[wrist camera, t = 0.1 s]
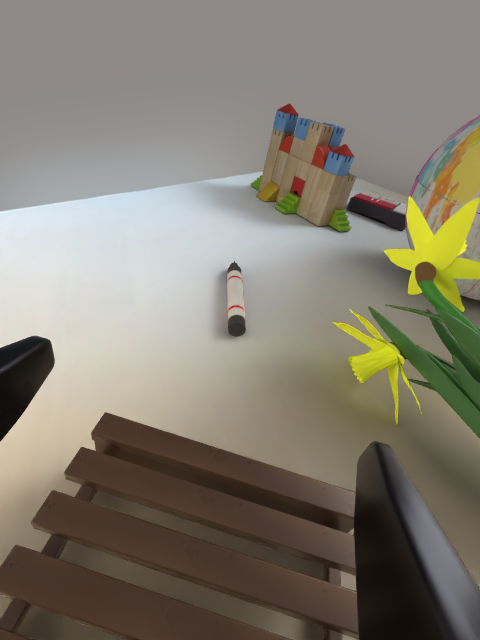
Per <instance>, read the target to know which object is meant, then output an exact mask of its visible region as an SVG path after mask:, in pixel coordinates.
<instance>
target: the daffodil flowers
mask: <svg viewBox="0 0 480 640" xmlns="http://www.w3.org/2000/svg"><path fill="white" fill-rule="evenodd" d="M478 204H479V198H476V199H473V200H472V201H470V202H469V203H467V204H466V205H464V206H463V207H462V208H461V209H460V210H459V211H457V212H456V213H455V214H454V215H453V216H452V217H450V218H449V219H448V220H447V221H446V222H445V223H444V224H443V225H442V226H441V228H440V229H439V230H438V231H437V233H436V234H435V235H433V233H432V231H431V229H430V227H429V226H428V224H427V222H426V220H425V218H424V216H423V215H422V213H421V211H420V209H419V208H418V206H417V205H416V203H415V201H414V200H413V199H412V197H411V196H409V199H408V208H407V214H406V216H407V225H408V230H409V233H410V235H411V238H412V241H413V244H414V248H415V251H413V250H411V249H388V250H384V253H385V254H386V255H387V256H388V257H389V259H390V260H391V262H393V263H394V264H396V265H397V266H399V267H402V268H404V269H407V270H410V271H412V272H411V275H410V278H409V284H408V294H410V295H417V294H420V293H422V292H423V294H424V295H425V297H426V298H427V299H428V300H429V301H430V303H431V304H432V305H433V306H434V307H435V308H436V311H437V313H438V315H436V314H433V313H432V312H431V311H430V310H428V309H427V312H424V311H420V310H416V309H412V308H405V307H398V306H391V305H386V306H390V307H393V308H397V309H402V310H406V311H411V312H414V313H418V314H421V315H424V316H427V317H430V320H431V322H432V324H433V326H434V328H435V330H436V332H437V333H438V335H439V337H440V338H441V340H442V342H443V343H444V345H445V346H446V347H447V349H448V350H449V352H450V353H451V354H452V359H453V363H454V365H453V364H451V363H450V362H448V361H446V360H444V359H442V358H440V357H438V356H436V355H434V354H432V353H430V352H428V351H426V350H424V349H423V348H421V347H419V346H418V345H416V344H415V343H413V342H412V341H411V340H410V339H409V338H408V337H407V336H406V335H405V334H404V333H403V332H401V331H400V330H399V329H398V328H397V327H396V326H395V325H393V324H392V323H391V322H390V321H389V320H387V319H386V318H385V317H384V316H382V315H381V314H380V313H379V312H377V311H376V310H374V309H373V308H371V307H368V308H369V310H370V312H371V314H372V315H373V317H374V318H375V320H376V321H377V322H378V324H379V325H380V326H381V328H382V329H383V330H384V332H385V333H386V334H387V335H388V336H389V338H390V339H391V340H392V341H393V343H392V342H387V341H386V340H385V339H383V338H382V336H381V335H380V334H379V332H378V331H377V329H376V328H375V327H374V326H373V325H372V324H371V323H370V322H369V321H368V320H367V319H365V318H363V317H361V316H359V315H357V314H356V313H354V312H353V311H352V310H351V309H350V310H351V312H352V313H353V314H354V315H355V316H356V317H357V318H358V319H359V321H360V322H361V323H362V324H363V325H364V326H365V327H366V329H367V330H368V331H369V332H370V333H371V334H372V335H373V336H375V337H376V338H377V339H379V340H380V341H379V340H376V339H374V338H371V337H368V336H367V335H365V334H364V333H362V332H361V331H359V330H357V329H356V328H354V327H352V326H350V325H347V324H345V323H335V322H332V323H333V324H335V325H336V326H337V327H339V328H340V329H342V330H343V331H345V332H346V333H348V334H350V335H351V336H353V337H355V338H356V339H358V340H359V341H361V342H362V343H364V344H365V345H367V346H368V347H370V348H372V349H371V350H370V351H369V353H367V354H363V355H358V356H353V357H349V358H348V359H349V360H348V361H349V362H351V363H350V364H349V365H350V366H353V367H352V369H351V370H353V371H355V373H354V375H356V376H357V380H360V381H359V383H360V382H362V383H363V382H365V381H366V380H367V379H369V378H370V377H371V376H373V375H374V374H376V373H377V372H379V371H381V370H382V369H384V368H388V377H389V380H390V384H391V388H392V391H393V395H394V400H395V405H396V409H395V420H396V424H397V423H398V363H399V367H400V371H401V374H402V377H403V379H404V381H405V383H406V384H407V385H408V387H409V388H410V389H411V391H412V392H413V394H414V397H415V399H416V401H417V404H418V406H419V409H420V403H419V401H418V399H417V397H416V395H415V393H414V391H413V389H412V387H411V385H410V383H409V381H411V382H414V383H416V384H419V385H422V386H424V387H427V388H429V389H432V390H435V391H436V392H438V393H439V394H440V395H441V396H442V397H443V399H444V400H445V401H446V402H447V403H448V404H449V405H450V406H451V407H452V408H453V409H454V411H455V412H456V413H457V414H458V415H459V416H460V417H461V418H462V419H463V421H464V422H465V423H466V424H467V425H468V426H469V427H470V428H471V429H472V430H473V432H474V433H475V434H476V435H477V436H478V437H479V438H480V330H479V329H478V328H477V327H476V326H475V325H473V324H472V323H471V322H470V321H469V320H468V319H467V318H466V317H465V316H464V315H463V314H462V313H461V312H464V311H465V308H464V307H463V305H462V301H461V297H460V294H459V291H458V288H457V285H456V283H455V281H454V280H453V278H459V279H480V263H479V262H476V261H472V260H469V259H464V258H456V257H457V256H459V255H460V254H462V253H463V252H464V251H465V250H467V249H465V248H466V247H467V246H468V245H466V241H467V240H465V239H466V237H467V235H468V233H469V230H470V228H471V225H472V223H473V220H474V217H475V214H476V211H477V207H478ZM456 307H457V308H458V309H459V310H460V311H461V312H460V311H459V310H458V309H457V308H456ZM440 321H441V322H443V323H445V324H446V326H447V328H448V329H449V331H450V332H451V334H452V335H453V336H452V335H451V334H450V333H449V332H448V330H447V329H446V328H445V327H444V326H443V324H442V323H441V322H440ZM454 338H455V339H456V340H455V339H454ZM404 359H408V360H409V361H410V363H411V364H412V365H413V366H414V367H415V368H416V369H417V370H418V371H419V372H420V374H421V375H422V376H423V377H424V378H425V379H426V380H427V381H428V382H429V383H427V382H422V381H418V380H413V379H407V377H406V375H405V372H404V369H403V364H404V362H405V360H404ZM362 383H361V384H362ZM420 411H421V410H420ZM421 414H422V412H421Z"/></svg>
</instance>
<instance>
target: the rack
mask: <svg viewBox="0 0 480 640" xmlns="http://www.w3.org/2000/svg"><path fill="white" fill-rule="evenodd" d="M91 435H92V440H94V441H95V449H96V451H93V450H90V449H87V448H84V447H81V448H80V450H79V451H78V453H77V454H76V456H75V457H74V459H73V460H72V462H71V463H70V464H69V466H68V467H67V469H66V470H65V472H64V474H65V478H66V479H67V480H70V481H73V482H76V483H79V484H82V486H81V488H80V490H79V491H78V493H77V495H76V496H75V497H72V496H69V495H66V494H63V493H60V492H57V491H54V490H53V491H52V492H51V493H50V495H49V496H48V497H47V499H46V500H45V502H44V503H43V505H42V506H41V508H40V509H39V511H38V512H37V514H36V515H35V517H34V518H33V520H32V521H31V524H32V526H33V528H34V529H37V530H40V531H43V532H46V533H49V534H52V535H51V537H50V539H49V540H48V542H47V544H46V545H45V547H44V549H43V550H42V552H41V553H40V552H37V551H34V550H31V549H28V548H25V547H22V546H19V545H15V546H14V547H13V549H12V550H11V552H10V553H9V555H8V556H7V558H6V559H5V561H4V562H3V564H2V565H1V567H0V595H2V596H5V597H7V598H10V599H12V601H11V603H10V604H9V606H8V608H7V609H6V611H5V612H4V614H3V616H2V617H1V619H0V640H34V639H31V638H28V637H25V636H23V635H20V634H17V633H16V632H17V630H18V629H19V627H20V625H21V623H22V621H23V620H24V618H25V616H26V614H27V613H28V611H29V609H30V607H31V606H33V607H36V608H38V609H41V610H44V611H47V612H50V613H53V614H55V615H58V616H61V617H64V618H67V619H70V620H72V621H75V622H78V623H81V624H84V625H86V626H89V627H92V628H95V629H98V630H101V631H103V632H106V633H109V634H112V635H115V636H118V637H120V638H123V639H126V640H292V639H289V638H286V637H283V636H280V635H277V634H274V633H271V632H268V631H266V630H263V629H260V628H257V627H254V626H251V625H248V624H245V623H242V622H239V621H237V620H234V619H231V618H228V617H225V616H222V615H219V614H216V613H213V612H211V611H208V610H205V609H202V608H199V607H196V606H193V605H190V604H187V603H184V602H182V601H179V600H176V599H173V598H170V597H167V596H164V595H161V594H158V593H156V592H153V591H150V590H147V589H144V588H141V587H138V586H135V585H132V584H129V583H127V582H124V581H121V580H118V579H115V578H112V577H109V576H106V575H103V574H100V573H98V572H95V571H92V570H89V569H86V568H83V567H80V566H77V565H74V564H72V563H69V562H66V561H63V560H60V559H58V558H59V556H60V554H61V553H62V551H63V549H64V547H65V546H66V544H67V542H68V540H69V541H72V542H75V543H78V544H81V545H84V546H87V547H90V548H92V549H95V550H98V551H101V552H104V553H107V554H110V555H113V556H116V557H119V558H122V559H125V560H128V561H131V562H133V563H136V564H139V565H142V566H145V567H148V568H151V569H154V570H157V571H160V572H163V573H166V574H169V575H171V576H174V577H177V578H180V579H183V580H186V581H189V582H192V583H195V584H198V585H201V586H204V587H207V588H209V589H212V590H215V591H218V592H221V593H224V594H227V595H230V596H233V597H236V598H239V599H242V600H245V601H247V602H250V603H253V604H256V605H259V606H262V607H265V608H268V609H271V610H274V611H277V612H280V613H283V614H286V615H288V616H291V617H294V618H297V619H300V620H303V621H306V622H309V623H312V624H315V625H318V626H321V627H324V640H342V634H344V635H347V636H350V637H353V638H356V639H359V634H358V611H357V592H356V591H353V590H350V589H347V588H344V587H341V576H340V571H343V572H346V573H349V574H352V575H355V576H356V566H355V543H354V535H350V534H347V533H348V532H350V531H351V530H352V529H353V528H354V510H355V494H356V492H353V491H350V490H346V489H343V488H340V487H337V486H334V485H331V484H328V483H325V482H322V481H318V480H315V479H312V478H309V477H306V476H303V475H300V474H297V473H293V472H290V471H287V470H284V469H281V468H278V467H275V466H272V465H268V464H265V463H262V462H259V461H256V460H253V459H250V458H247V457H243V456H240V455H237V454H234V453H231V452H228V451H225V450H222V449H219V448H215V447H212V446H209V445H206V444H203V443H200V442H197V441H194V440H190V439H187V438H184V437H181V436H178V435H175V434H172V433H169V432H165V431H162V430H159V429H156V428H153V427H150V426H147V425H144V424H140V423H137V422H134V421H131V420H128V419H125V418H122V417H119V416H116V415H112V414H109V413H106V412H105V413H104V415H103V416H102V418H101V419H100V421H99V422H98V424H97V425H96V426H95V428H94V429H93V431H92V432H91ZM97 490H100V491H103V492H106V493H109V494H112V495H115V496H118V497H121V498H124V499H127V500H130V501H133V502H136V503H139V504H142V505H145V506H148V507H151V508H154V509H157V510H160V511H163V512H166V513H169V514H172V515H175V516H178V517H181V518H184V519H187V520H190V521H193V522H196V523H199V524H202V525H205V526H208V527H211V528H214V529H217V530H220V531H223V532H226V533H229V534H232V535H235V536H238V537H241V538H244V539H247V540H250V541H253V542H256V543H259V544H262V545H265V546H268V547H271V548H274V549H277V550H280V551H283V552H286V553H289V554H292V555H295V556H298V557H301V558H304V559H307V560H310V561H313V562H316V563H319V564H322V565H324V581H323V580H320V579H317V578H314V577H311V576H308V575H305V574H302V573H299V572H296V571H293V570H290V569H287V568H284V567H281V566H278V565H275V564H272V563H269V562H266V561H263V560H260V559H257V558H254V557H251V556H248V555H245V554H242V553H239V552H236V551H233V550H231V549H228V548H225V547H222V546H219V545H216V544H213V543H210V542H207V541H204V540H201V539H198V538H195V537H192V536H189V535H186V534H183V533H180V532H177V531H174V530H171V529H168V528H165V527H162V526H159V525H156V524H153V523H150V522H147V521H144V520H141V519H138V518H135V517H132V516H129V515H126V514H123V513H120V512H117V511H114V510H111V509H108V508H105V507H102V506H99V505H96V504H93V503H90V502H91V500H92V498H93V496H94V494H95V493H96V491H97Z"/></svg>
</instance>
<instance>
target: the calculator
mask: <svg viewBox="0 0 480 640" xmlns="http://www.w3.org/2000/svg"><path fill="white" fill-rule="evenodd" d="M347 209H348V210H351V211H354V212H357V213H360V214H363V215H366V216H369V217H372V218H375V219H378V220H381V221H383V222H386V224H387V225H388V226H390V227H393V228H396V229H399V230H404V229H405V228H406V209H407V204H403V203H401V204H400V202H399V201H396V200H393V199H390V198H386V197H382V198H381V196H380V195H377V194H373V193H370V192H367V191H364V192H362V193H360V194H357V195H355V196H354V197H352V198H351V199H350V202H349V205H348V208H347Z"/></svg>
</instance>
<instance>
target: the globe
mask: <svg viewBox="0 0 480 640" xmlns="http://www.w3.org/2000/svg"><path fill="white" fill-rule="evenodd" d="M409 196H411V197H412V199H413V200H414V201H415V203H416V205H417V206H418V208H419V209H420V211H421V213H422V215H423V216H424V218H425V220H426V222H427V224H428V226H429V227H430V229H431V231H432V233H433V235H435V234H436V233H437V231H438V230H439V229H440V228H441V226H442V225H443V224H444V223H445V222H446V221H447V220H448V219H449V218H450V217H452V216H453V215H454V214H455V213H456V212H457V211H459V210H460V209H461V208H462V207H463V206H464V205H466V204H467V203H469V202H470V201H472V200H473V199H476V198H479V204H478V207H477V211H476V214H475V217H474V220H473V223H472V225H471V228H470V230H469V233H468V235H467V237H466V239H465V240H467V241H466V245H468V246H467V247H466V248H465V249H467V250H465V251H464V252H463V253H462V254H460V255H459V256H457V257H456V258H464V259H469V260H472V261H476V262H479V263H480V115H479V116H477V117H475V118H473V119H472V120H471V121H469V122H467V123H466V124H464V125H463V126H461V127H460V128H459V129H458V130H457V131H455V132H454V133H453V134H451V135H450V136H449V137H448V138H447V139H446V140H445V141H444V142H443V143H442V144H441V145H440V146H439V147H438V148H437V149H436V150H435V152H434V153H433V154H432V155H431V156H430V158H429V159H428V160H427V162H426V163H425V165H424V166H423V168H422V169H421V171H420V173H419V175H418V177H417V178H416V180H415V183H414V185H413V187H412V190H411V193H410V195H409ZM407 208H408V203H407ZM406 214H407V209H406ZM406 233H407V238H408V242H409V245H410V248H411V250H413V251H415V248H414V244H413V241H412V238H411V235H410V233H409V230H408V225H407V216H406ZM453 280H454V281H455V283H456V285H457V288H458V291H459V294H460V295H462V296H465V297H468V298H471V299H475V300H479V301H480V279H459V278H453Z"/></svg>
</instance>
